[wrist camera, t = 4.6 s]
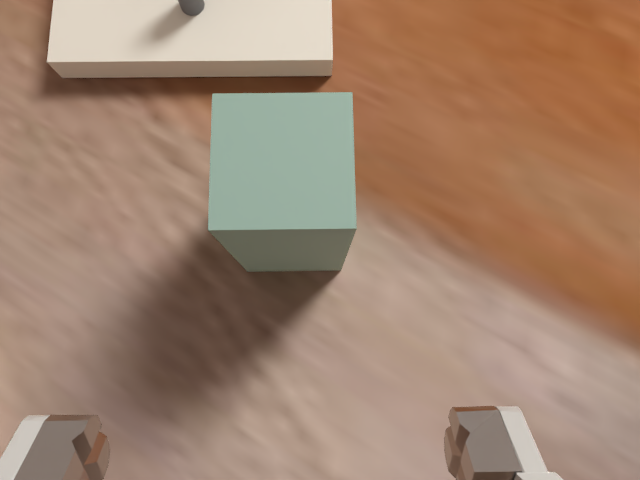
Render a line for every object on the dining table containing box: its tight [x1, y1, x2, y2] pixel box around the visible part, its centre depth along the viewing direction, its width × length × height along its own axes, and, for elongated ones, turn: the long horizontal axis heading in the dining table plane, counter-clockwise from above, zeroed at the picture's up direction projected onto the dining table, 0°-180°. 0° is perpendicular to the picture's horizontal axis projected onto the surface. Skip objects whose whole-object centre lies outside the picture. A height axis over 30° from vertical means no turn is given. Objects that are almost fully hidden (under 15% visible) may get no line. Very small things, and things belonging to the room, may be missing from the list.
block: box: [208, 92, 356, 272], centre depth 20 cm, size 4×4×9 cm
